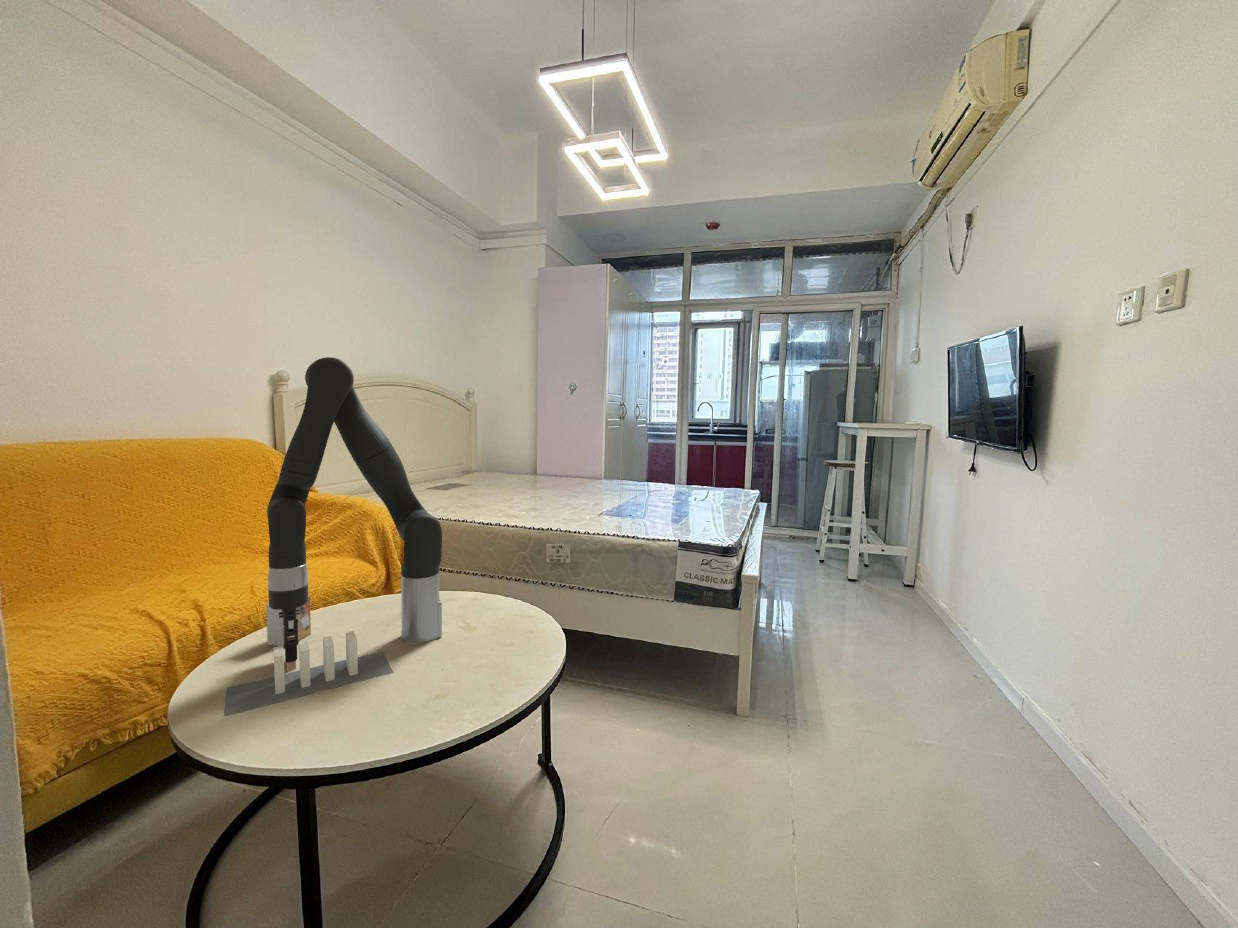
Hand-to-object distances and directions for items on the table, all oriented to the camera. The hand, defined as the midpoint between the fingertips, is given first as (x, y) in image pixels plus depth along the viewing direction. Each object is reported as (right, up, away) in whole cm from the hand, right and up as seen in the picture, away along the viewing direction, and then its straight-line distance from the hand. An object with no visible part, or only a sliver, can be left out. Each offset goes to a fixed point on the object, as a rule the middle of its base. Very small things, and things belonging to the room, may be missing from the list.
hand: (290, 654), depth 113 cm
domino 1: (+4, -4, -9) cm, 11 cm away
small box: (-9, -2, +14) cm, 16 cm away
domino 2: (0, -3, 0) cm, 3 cm away
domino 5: (+15, -3, -1) cm, 15 cm away
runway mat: (+9, -4, -6) cm, 11 cm away
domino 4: (+11, -3, -4) cm, 12 cm away
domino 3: (+7, -3, -6) cm, 11 cm away
